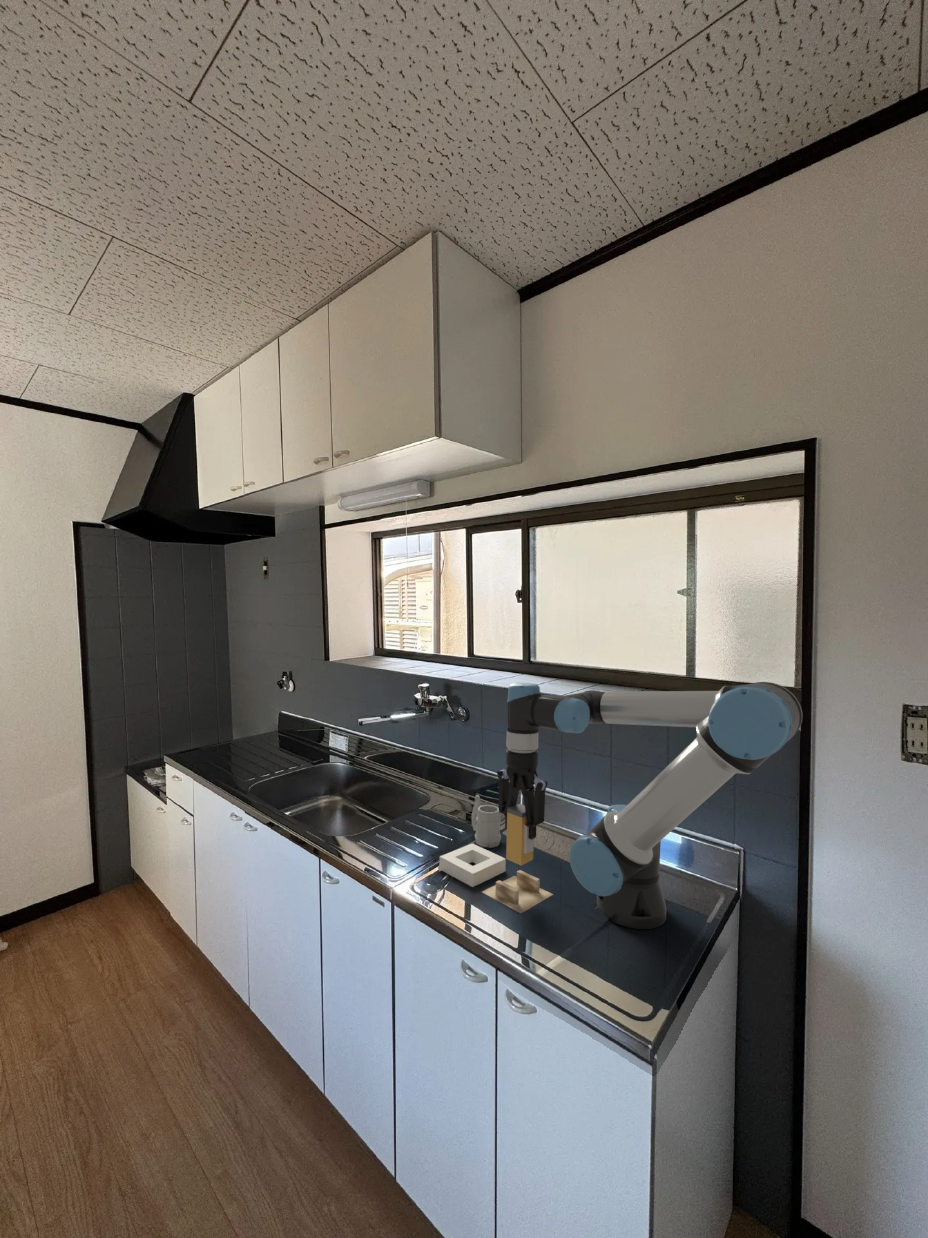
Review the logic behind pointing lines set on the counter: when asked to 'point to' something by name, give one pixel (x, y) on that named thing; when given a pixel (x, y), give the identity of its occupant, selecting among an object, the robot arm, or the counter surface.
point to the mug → (486, 824)
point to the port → (471, 875)
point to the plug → (516, 835)
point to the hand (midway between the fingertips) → (519, 847)
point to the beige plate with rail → (518, 892)
